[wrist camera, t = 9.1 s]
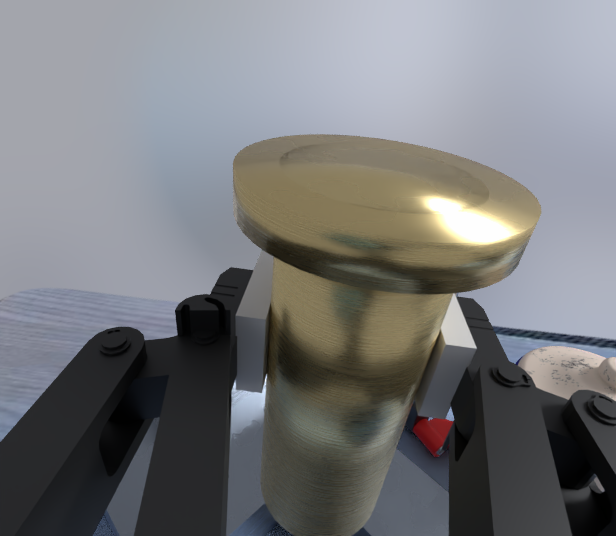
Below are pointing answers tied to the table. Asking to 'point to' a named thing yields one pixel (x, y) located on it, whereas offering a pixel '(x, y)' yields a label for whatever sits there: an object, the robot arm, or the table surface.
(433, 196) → the brass flanged peg
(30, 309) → the table surface
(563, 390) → the teacup with lid
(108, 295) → the table surface
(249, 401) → the jig
